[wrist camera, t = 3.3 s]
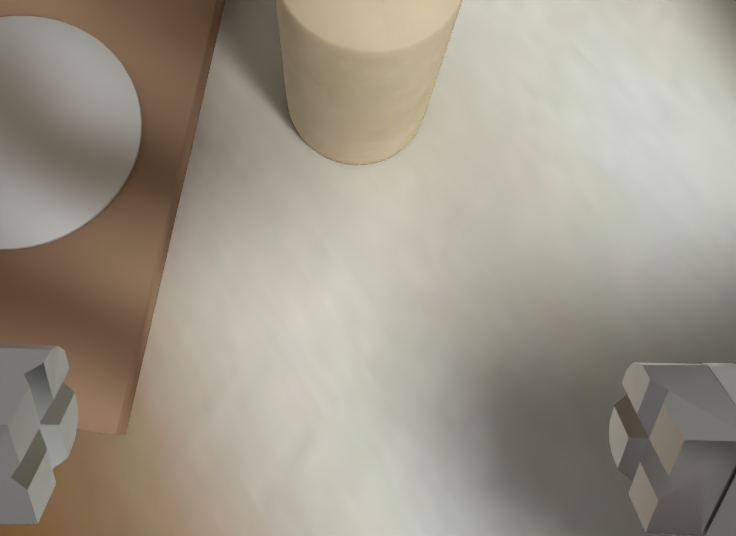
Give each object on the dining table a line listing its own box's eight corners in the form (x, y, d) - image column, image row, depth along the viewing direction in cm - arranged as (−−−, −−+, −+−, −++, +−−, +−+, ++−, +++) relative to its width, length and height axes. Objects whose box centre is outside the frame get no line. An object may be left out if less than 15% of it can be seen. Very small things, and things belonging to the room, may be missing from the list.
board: (125, 434, 24) (112, 434, 23) (-220, 379, 24) (-255, 377, 22) (237, -53, 29) (232, -78, 27) (-51, -104, 28) (-72, -133, 27)
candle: (258, 98, 27) (222, -82, 18) (358, 15, 28) (376, -198, 19) (354, 195, 27) (372, 63, 17) (452, 106, 28) (522, -65, 18)
